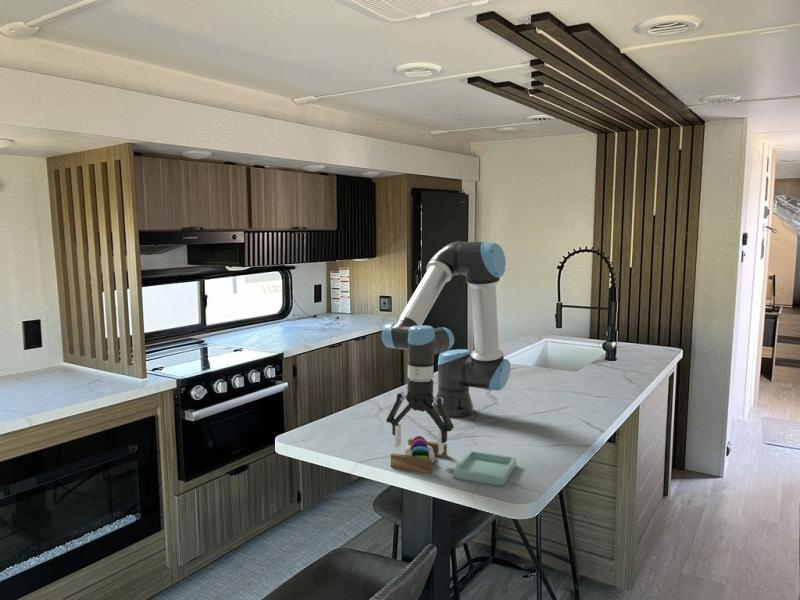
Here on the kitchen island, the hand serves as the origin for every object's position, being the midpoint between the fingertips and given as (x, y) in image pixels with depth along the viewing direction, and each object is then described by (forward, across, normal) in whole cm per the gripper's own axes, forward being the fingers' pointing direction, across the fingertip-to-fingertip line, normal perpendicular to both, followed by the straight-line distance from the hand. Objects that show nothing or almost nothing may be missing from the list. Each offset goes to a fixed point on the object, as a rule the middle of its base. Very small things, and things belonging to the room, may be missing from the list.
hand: (419, 449), depth 178 cm
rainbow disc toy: (+4, 0, 0) cm, 4 cm away
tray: (+3, +20, 0) cm, 20 cm away
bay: (+4, 0, 0) cm, 4 cm away
